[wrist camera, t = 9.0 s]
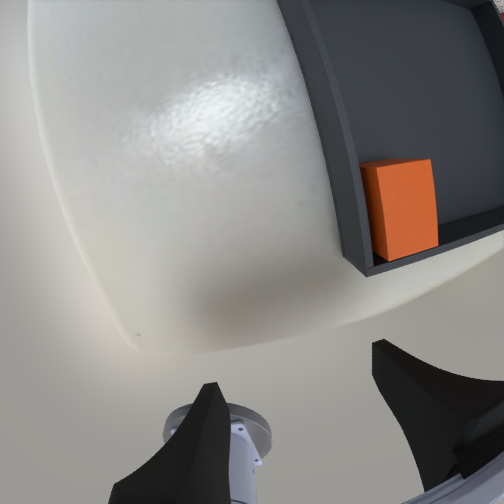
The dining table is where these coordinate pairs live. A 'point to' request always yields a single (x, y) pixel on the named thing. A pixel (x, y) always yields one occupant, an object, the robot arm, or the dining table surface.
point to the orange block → (400, 206)
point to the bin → (407, 107)
